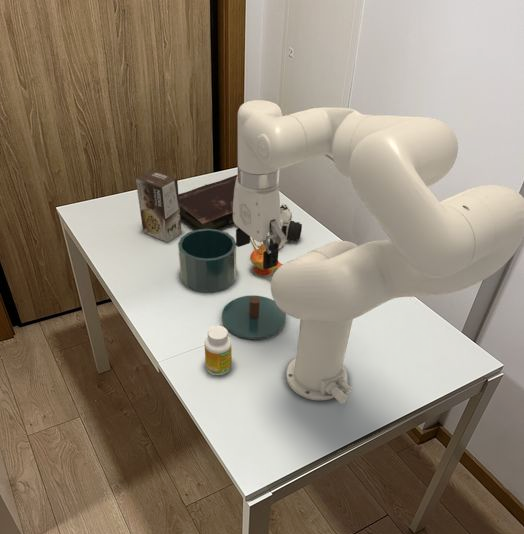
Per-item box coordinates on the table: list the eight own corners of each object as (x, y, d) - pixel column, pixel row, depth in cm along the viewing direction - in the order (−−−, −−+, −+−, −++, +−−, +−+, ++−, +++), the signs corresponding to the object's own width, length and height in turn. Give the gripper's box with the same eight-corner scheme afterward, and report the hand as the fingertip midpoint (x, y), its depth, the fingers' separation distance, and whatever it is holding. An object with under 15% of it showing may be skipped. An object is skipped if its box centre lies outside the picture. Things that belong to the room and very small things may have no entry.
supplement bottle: (221, 379, 109) (221, 345, 102) (200, 369, 111) (198, 334, 104) (236, 364, 112) (236, 329, 105) (215, 354, 114) (214, 319, 107)
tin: (246, 281, 133) (246, 248, 126) (199, 299, 127) (197, 266, 120) (216, 255, 141) (216, 223, 134) (171, 271, 135) (168, 239, 128)
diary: (167, 211, 156) (166, 195, 152) (235, 187, 168) (235, 172, 164) (204, 239, 146) (203, 223, 142) (273, 212, 158) (274, 196, 154)
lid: (298, 325, 122) (301, 306, 118) (246, 350, 115) (246, 330, 111) (260, 292, 130) (261, 272, 126) (209, 313, 123) (209, 293, 120)
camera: (295, 254, 142) (299, 224, 137) (266, 250, 143) (269, 219, 137) (302, 233, 152) (306, 203, 147) (275, 228, 153) (278, 199, 147)
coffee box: (182, 232, 148) (178, 178, 136) (167, 243, 144) (162, 187, 132) (157, 222, 151) (151, 168, 140) (141, 232, 147) (134, 177, 136)
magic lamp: (275, 296, 129) (278, 258, 121) (236, 259, 139) (237, 222, 132) (298, 288, 132) (302, 250, 124) (258, 252, 142) (260, 215, 135)
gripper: (215, 162, 100) (218, 241, 112) (269, 199, 90) (265, 282, 102) (248, 154, 103) (248, 231, 115) (304, 189, 93) (296, 270, 105)
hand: (256, 255), depth 108 cm, fingers open, 9 cm apart
